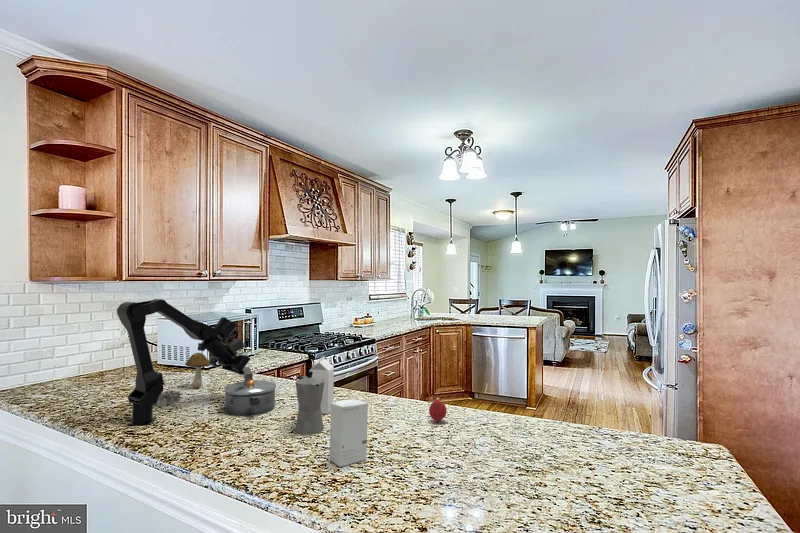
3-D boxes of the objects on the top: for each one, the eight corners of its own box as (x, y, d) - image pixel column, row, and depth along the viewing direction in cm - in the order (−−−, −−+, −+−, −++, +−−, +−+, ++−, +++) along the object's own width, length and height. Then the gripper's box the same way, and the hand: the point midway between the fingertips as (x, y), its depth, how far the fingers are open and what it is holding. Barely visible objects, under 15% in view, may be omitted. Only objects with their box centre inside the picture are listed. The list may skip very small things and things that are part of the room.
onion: (445, 425, 140) (445, 400, 141) (427, 424, 142) (428, 399, 142) (447, 420, 146) (447, 395, 146) (430, 418, 147) (430, 394, 148)
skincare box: (339, 468, 108) (340, 407, 108) (328, 459, 113) (329, 402, 113) (368, 459, 113) (368, 402, 114) (356, 452, 118) (356, 397, 118)
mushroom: (197, 392, 179) (198, 355, 180) (179, 388, 185) (180, 353, 185) (215, 387, 187) (216, 352, 188) (198, 384, 193) (198, 350, 193)
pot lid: (279, 392, 153) (279, 380, 153) (225, 397, 146) (225, 385, 146) (268, 375, 180) (268, 365, 180) (222, 378, 173) (222, 368, 173)
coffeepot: (332, 433, 133) (333, 373, 133) (302, 439, 127) (303, 377, 128) (312, 419, 146) (313, 365, 146) (285, 424, 140) (286, 368, 141)
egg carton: (160, 407, 158) (161, 396, 158) (145, 405, 161) (145, 394, 161) (184, 400, 168) (184, 389, 169) (169, 398, 171) (169, 387, 171)
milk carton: (333, 408, 158) (334, 356, 159) (328, 414, 151) (329, 359, 152) (314, 407, 159) (315, 355, 159) (308, 413, 152) (309, 358, 152)
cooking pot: (280, 415, 149) (280, 395, 150) (227, 422, 142) (227, 400, 142) (269, 397, 172) (269, 379, 172) (222, 402, 165) (223, 383, 165)
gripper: (246, 334, 163) (269, 359, 171) (217, 330, 173) (240, 354, 182) (226, 358, 156) (252, 383, 164) (198, 353, 166) (223, 377, 175)
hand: (242, 373), depth 172 cm, fingers closed
